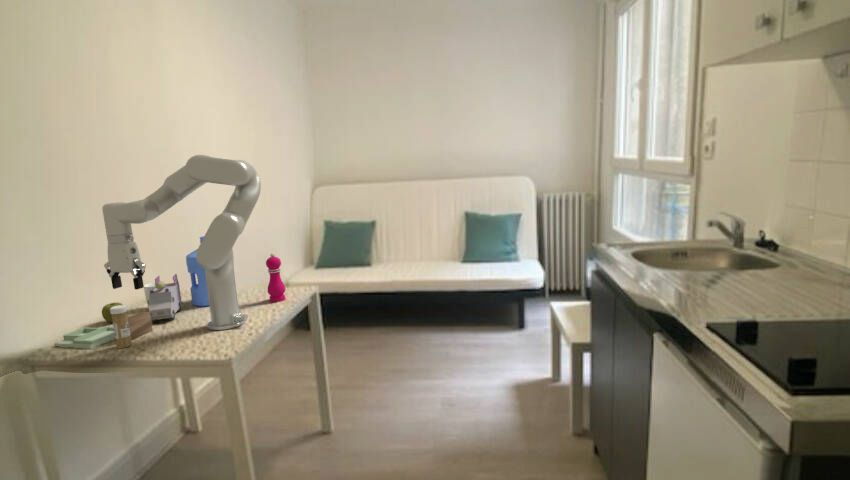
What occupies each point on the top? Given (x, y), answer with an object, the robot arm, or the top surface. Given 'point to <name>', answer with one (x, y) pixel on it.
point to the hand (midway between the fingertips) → (128, 288)
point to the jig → (87, 337)
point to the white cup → (147, 291)
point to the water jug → (200, 289)
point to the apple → (108, 311)
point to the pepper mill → (275, 279)
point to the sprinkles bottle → (121, 326)
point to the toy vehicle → (165, 300)
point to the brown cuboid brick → (139, 324)
